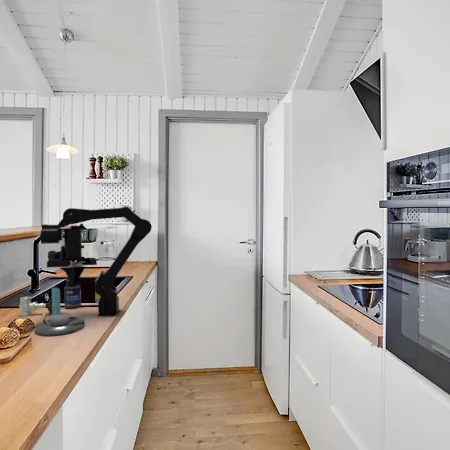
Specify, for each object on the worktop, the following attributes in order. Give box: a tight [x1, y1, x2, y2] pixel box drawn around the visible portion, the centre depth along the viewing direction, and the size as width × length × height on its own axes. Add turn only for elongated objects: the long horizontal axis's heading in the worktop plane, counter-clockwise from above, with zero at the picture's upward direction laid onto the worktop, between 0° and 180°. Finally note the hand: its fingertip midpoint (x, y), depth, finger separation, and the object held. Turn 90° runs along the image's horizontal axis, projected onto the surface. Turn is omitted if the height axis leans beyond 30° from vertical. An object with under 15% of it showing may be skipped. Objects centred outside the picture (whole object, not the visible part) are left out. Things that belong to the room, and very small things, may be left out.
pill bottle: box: [63, 278, 82, 310], centre depth 144 cm, size 6×6×11 cm
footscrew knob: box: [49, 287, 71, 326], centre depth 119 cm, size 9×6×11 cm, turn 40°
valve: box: [18, 296, 53, 317], centre depth 134 cm, size 7×7×12 cm
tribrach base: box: [33, 312, 86, 337], centre depth 118 cm, size 15×15×4 cm
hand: (73, 286), depth 128 cm, fingers closed
